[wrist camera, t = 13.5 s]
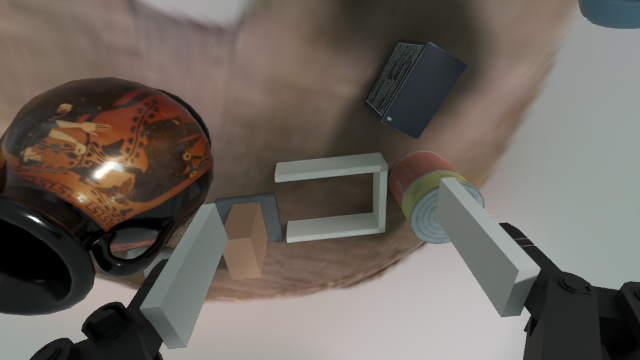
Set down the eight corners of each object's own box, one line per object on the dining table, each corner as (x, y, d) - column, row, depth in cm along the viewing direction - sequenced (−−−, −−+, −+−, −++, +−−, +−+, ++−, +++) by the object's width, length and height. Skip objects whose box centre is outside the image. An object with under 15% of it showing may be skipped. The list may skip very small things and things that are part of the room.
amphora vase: (75, 154, 45) (-194, 301, 21) (110, 34, 37) (-265, 42, 13) (199, 210, 52) (107, 370, 27) (251, 119, 44) (186, 230, 19)
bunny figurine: (123, 242, 50) (201, 269, 52) (141, 225, 54) (212, 251, 56) (119, 275, 54) (192, 299, 56) (136, 257, 58) (203, 280, 60)
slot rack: (380, 152, 48) (387, 164, 44) (378, 216, 55) (384, 232, 51) (276, 162, 48) (274, 176, 43) (288, 225, 55) (287, 242, 50)
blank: (259, 202, 50) (250, 237, 42) (267, 238, 55) (261, 277, 46) (232, 204, 50) (218, 240, 42) (243, 240, 55) (232, 280, 46)
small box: (395, 120, 45) (418, 142, 36) (362, 103, 44) (378, 123, 34) (433, 58, 41) (471, 66, 32) (398, 37, 39) (427, 39, 30)
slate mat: (274, 192, 51) (273, 195, 50) (283, 237, 56) (283, 240, 55) (216, 198, 51) (215, 201, 50) (231, 242, 56) (230, 245, 55)
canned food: (449, 192, 53) (485, 232, 43) (394, 209, 54) (416, 251, 44) (444, 142, 48) (483, 173, 37) (383, 161, 49) (404, 197, 38)
